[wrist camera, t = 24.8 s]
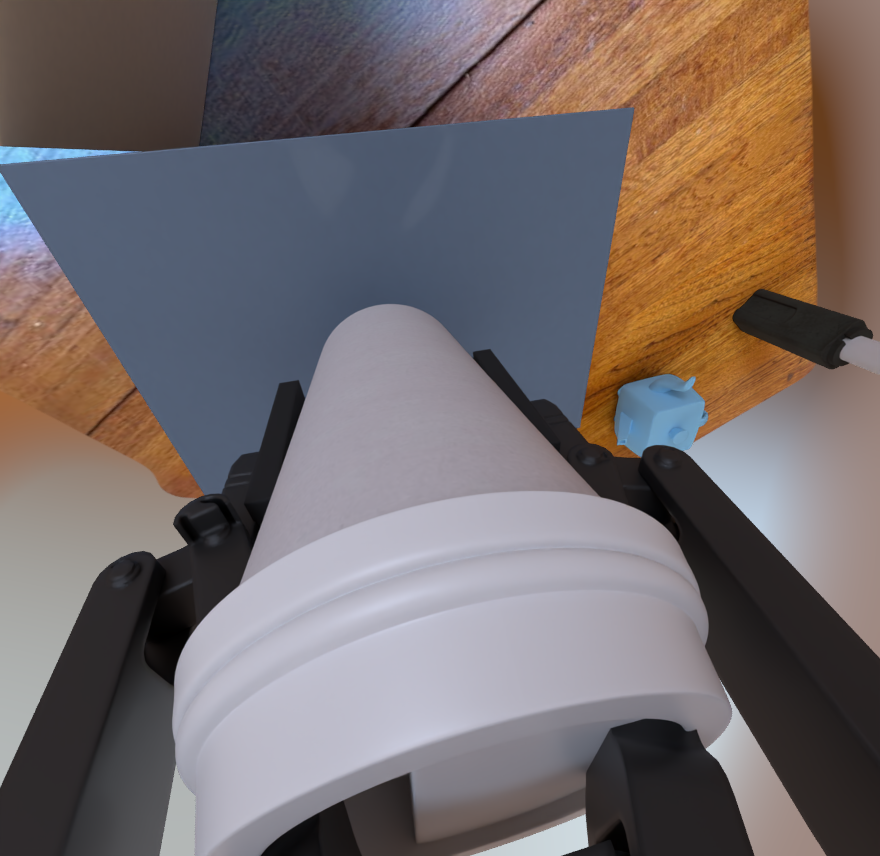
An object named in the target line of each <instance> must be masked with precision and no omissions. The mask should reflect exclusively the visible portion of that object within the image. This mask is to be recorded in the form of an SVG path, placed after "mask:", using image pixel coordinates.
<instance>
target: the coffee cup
mask: <svg viewBox="0 0 880 856" xmlns="http://www.w3.org/2000/svg"><path fill="white" fill-rule="evenodd" d="M708 629H709V623H708V615H707V611H706V608H705V605H704V603H703V601H702V599H701V596H700V590H699V587H698V584H697V581H696V579H695V576H694V574H693V572H692V570H691V568H690V567H689V565H688V563H687V561H686V559H685V557H684V554H683V552H682V550H681V548H680V546H679V544H678V542H677V541H676V539H675V538H674V537H673V535H672V534H671V533H670V532H669V531H668V530H667V529H666V528H665V527H664V526H663V525H662V524H661V523H659V522H658V521H657V520H655V519H654V518H652V517H651V516H649V515H647V514H646V513H644V512H642V511H640V510H638V509H636V508H633V507H631V506H628V505H626V504H623V503H620V502H617V501H613V500H610V499H606V498H601V497H600V496H599V495H598V494H597V493H596V492H595V491H594V490H593V489H592V488H591V487H590V486H589V485H588V484H587V482H586V481H585V480H584V479H583V478H582V477H581V476H580V475H579V474H578V473H577V472H576V471H575V470H574V468H573V467H572V466H571V465H570V464H569V463H568V462H567V461H566V460H565V459H564V458H563V457H562V456H561V454H560V453H559V452H558V451H557V450H556V449H555V448H554V447H553V446H552V445H551V444H550V443H549V441H548V440H547V439H546V438H545V437H544V436H543V435H542V434H541V433H540V432H539V431H538V429H537V428H536V427H535V426H534V425H533V424H532V423H531V422H530V421H529V420H528V419H527V417H526V416H525V415H524V414H523V413H522V412H521V411H520V410H519V409H518V408H517V407H516V405H515V404H514V403H513V402H512V401H511V400H510V399H509V398H508V397H507V396H506V394H505V393H504V392H503V391H502V390H501V389H500V388H499V387H498V386H497V385H496V383H495V382H494V381H493V380H492V379H491V378H490V377H489V376H488V375H487V374H486V372H485V371H484V370H483V369H482V368H481V367H480V366H479V365H478V364H477V363H476V361H475V360H474V359H473V358H472V357H471V356H470V355H469V354H468V353H467V352H466V350H465V349H464V348H463V347H462V346H461V345H460V344H459V343H458V342H457V340H456V339H455V338H454V337H453V336H452V335H451V334H450V333H449V332H448V331H447V329H446V328H445V327H444V326H443V325H442V324H441V323H440V322H439V321H437V320H436V319H435V318H434V317H432V316H431V315H429V314H427V313H426V312H424V311H421V310H419V309H417V308H414V307H410V306H406V305H399V304H382V305H376V306H372V307H368V308H365V309H362V310H360V311H358V312H356V313H354V314H352V315H351V316H349V317H348V318H346V319H345V320H344V321H342V322H341V323H340V324H339V325H338V326H337V327H336V328H335V329H334V330H333V332H332V333H331V334H330V336H329V337H328V339H327V341H326V343H325V345H324V347H323V350H322V353H321V356H320V358H319V361H318V364H317V367H316V370H315V373H314V376H313V379H312V382H311V385H310V387H309V390H308V393H307V396H306V399H305V402H304V405H303V408H302V411H301V413H300V416H299V419H298V422H297V425H296V428H295V431H294V434H293V436H292V439H291V442H290V445H289V448H288V451H287V454H286V457H285V459H284V462H283V465H282V468H281V471H280V474H279V477H278V479H277V482H276V485H275V488H274V491H273V494H272V496H271V499H270V502H269V505H268V508H267V510H266V513H265V516H264V519H263V522H262V524H261V527H260V530H259V533H258V536H257V538H256V541H255V544H254V547H253V550H252V552H251V555H250V558H249V561H248V563H247V566H246V569H245V572H244V574H243V577H242V580H241V583H240V585H239V586H238V587H237V588H236V589H235V590H233V591H232V592H231V593H230V594H229V595H227V596H226V597H225V598H224V599H223V600H222V601H221V602H220V603H218V604H217V605H216V606H215V607H214V608H213V609H212V610H211V611H210V612H209V613H208V615H207V616H206V617H205V618H204V619H203V620H202V621H201V623H200V624H199V625H198V626H197V628H196V629H195V630H194V632H193V633H192V635H191V636H190V638H189V639H188V641H187V643H186V644H185V646H184V648H183V650H182V653H181V655H180V658H179V660H178V664H177V667H176V672H175V680H174V705H173V717H172V729H173V736H174V740H175V744H176V745H175V758H176V765H177V769H178V772H179V775H180V777H181V779H182V780H183V782H184V784H185V785H186V786H187V788H188V789H189V790H190V791H191V792H192V793H193V794H194V795H196V805H195V806H196V807H195V810H196V811H195V856H261V855H262V853H263V852H264V851H265V850H266V848H267V847H268V846H269V845H270V844H272V843H273V842H274V841H275V840H276V839H278V838H279V837H280V836H282V835H283V834H284V833H286V832H287V831H289V830H290V829H292V828H293V827H295V826H296V825H298V824H300V823H301V822H303V821H305V820H306V819H308V818H310V817H312V816H313V815H315V814H317V813H319V812H321V811H323V810H325V809H327V808H329V807H331V806H333V805H335V804H337V803H339V802H341V801H343V800H344V804H345V807H346V810H347V813H348V817H349V820H350V823H351V826H352V830H353V833H354V836H355V839H356V842H357V845H358V847H359V850H360V852H361V854H362V856H470V855H473V854H476V853H480V852H483V851H486V850H489V849H492V848H495V847H498V846H501V845H504V844H507V843H510V842H513V841H516V840H519V839H521V838H524V837H527V836H530V835H533V834H536V833H538V832H541V831H544V830H546V829H549V828H551V827H554V826H557V825H559V824H562V823H564V822H567V821H570V820H572V819H574V818H577V817H579V816H582V815H584V814H586V810H585V790H586V772H587V770H588V768H589V766H590V764H591V763H592V761H593V759H594V757H595V755H596V754H597V752H598V750H599V748H600V746H601V745H602V743H603V741H604V739H605V737H606V735H607V734H608V732H609V730H610V728H613V727H616V726H620V725H624V724H627V723H631V722H635V721H638V720H641V719H662V720H669V721H673V722H676V723H678V724H680V725H681V726H682V727H683V728H684V730H685V731H692V730H696V729H697V732H698V735H699V737H700V740H701V742H702V744H703V746H704V748H705V749H706V748H707V747H708V746H710V745H711V744H712V743H713V742H714V741H715V740H716V739H717V738H718V737H719V736H720V735H721V734H722V733H723V732H724V730H725V729H726V728H727V726H728V724H729V723H730V720H731V717H732V708H731V705H730V702H729V700H728V698H727V695H726V693H725V691H724V688H723V686H722V684H721V682H720V679H719V677H718V675H717V673H716V671H715V668H714V666H713V664H712V662H711V659H710V657H709V655H708V653H707V651H706V648H705V644H706V641H707V637H708Z"/></svg>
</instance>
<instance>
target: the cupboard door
mask: <svg viewBox="0 0 880 856" xmlns="http://www.w3.org/2000/svg"><path fill="white" fill-rule="evenodd" d="M217 2H218V0H0V146H9V147H35V148H62V149H89V150H115V151H142V152H144V151H155V150H167V149H178V148H189V147H199V144H200V136H201V129H202V121H203V113H204V105H205V97H206V89H207V81H208V73H209V65H210V58H211V50H212V42H213V34H214V26H215V18H216V10H217Z"/></svg>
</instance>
